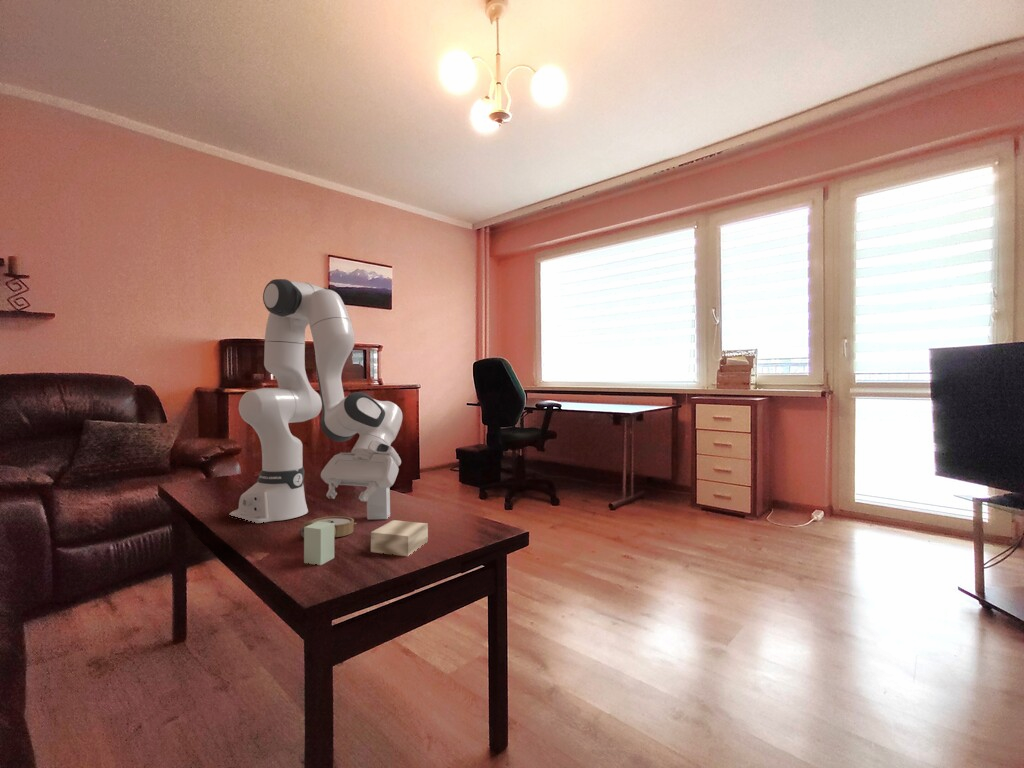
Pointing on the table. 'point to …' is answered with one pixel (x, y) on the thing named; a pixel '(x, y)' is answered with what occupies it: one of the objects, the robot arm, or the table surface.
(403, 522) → the birch block
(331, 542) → the sage block
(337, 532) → the alarm clock
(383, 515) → the skincare box
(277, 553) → the table surface
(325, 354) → the robot arm
